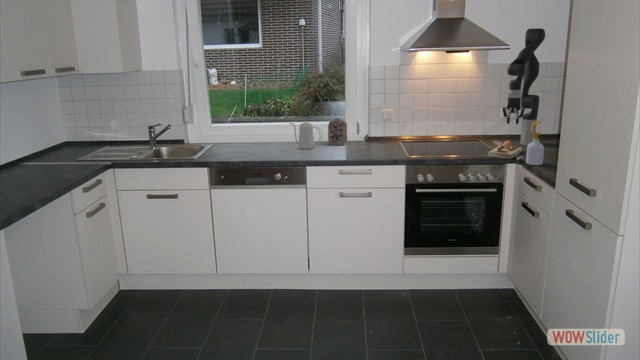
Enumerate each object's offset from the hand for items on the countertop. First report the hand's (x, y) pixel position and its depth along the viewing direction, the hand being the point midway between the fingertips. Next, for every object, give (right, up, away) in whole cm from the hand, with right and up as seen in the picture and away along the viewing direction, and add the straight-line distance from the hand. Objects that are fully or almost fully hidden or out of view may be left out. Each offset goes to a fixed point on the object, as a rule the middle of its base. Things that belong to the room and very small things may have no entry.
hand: (512, 123), depth 331 cm
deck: (-6, -19, -4) cm, 21 cm away
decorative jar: (-110, -10, +41) cm, 118 cm away
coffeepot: (-132, -14, +29) cm, 136 cm away
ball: (-4, -14, -3) cm, 15 cm away
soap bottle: (+1, -26, -31) cm, 41 cm away
